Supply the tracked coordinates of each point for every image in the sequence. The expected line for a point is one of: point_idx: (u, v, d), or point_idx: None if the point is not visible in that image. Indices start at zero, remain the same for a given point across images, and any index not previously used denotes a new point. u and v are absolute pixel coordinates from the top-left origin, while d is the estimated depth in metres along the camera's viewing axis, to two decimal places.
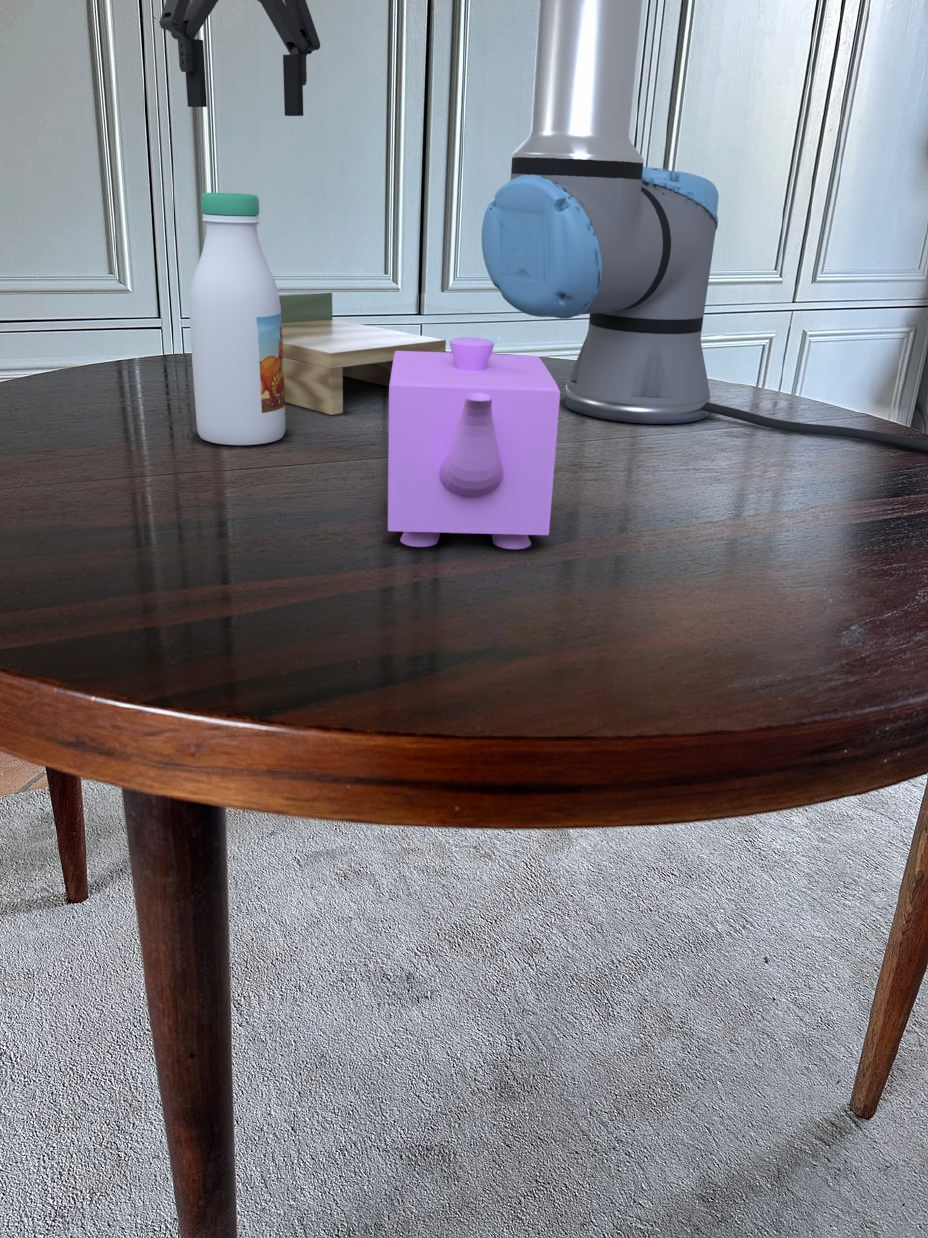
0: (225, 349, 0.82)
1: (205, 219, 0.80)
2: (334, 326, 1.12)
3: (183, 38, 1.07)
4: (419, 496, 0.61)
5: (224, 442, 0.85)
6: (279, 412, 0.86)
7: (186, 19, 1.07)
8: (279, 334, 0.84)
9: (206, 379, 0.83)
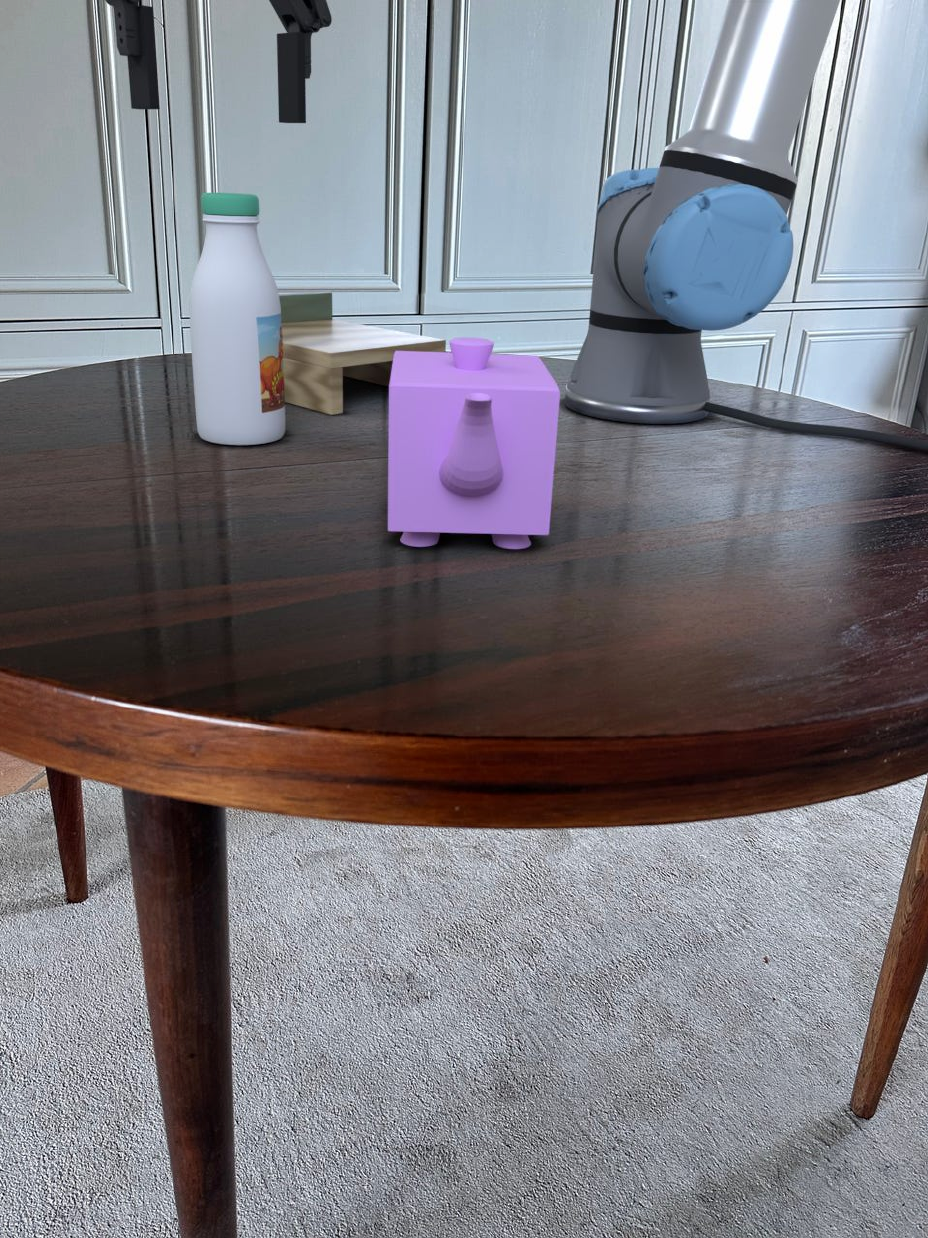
0: (225, 349, 0.82)
1: (205, 219, 0.80)
2: (334, 326, 1.12)
3: (121, 3, 0.70)
4: (419, 496, 0.61)
5: (224, 442, 0.85)
6: (279, 412, 0.86)
7: None
8: (279, 334, 0.84)
9: (206, 379, 0.83)
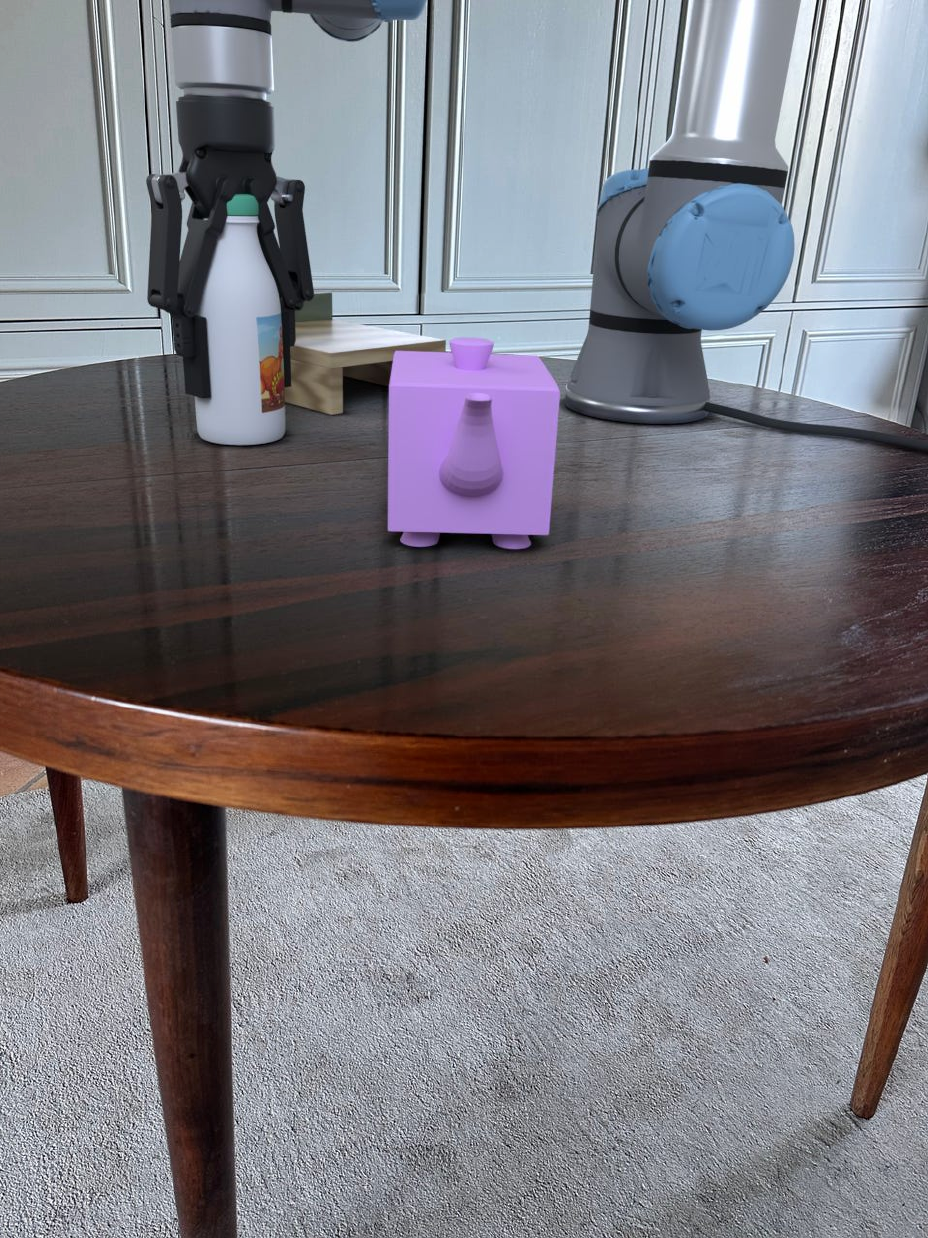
0: (225, 349, 0.82)
1: (205, 219, 0.80)
2: (334, 326, 1.12)
3: (179, 318, 0.80)
4: (419, 496, 0.61)
5: (224, 442, 0.85)
6: (279, 412, 0.86)
7: (179, 292, 0.80)
8: (279, 334, 0.84)
9: None
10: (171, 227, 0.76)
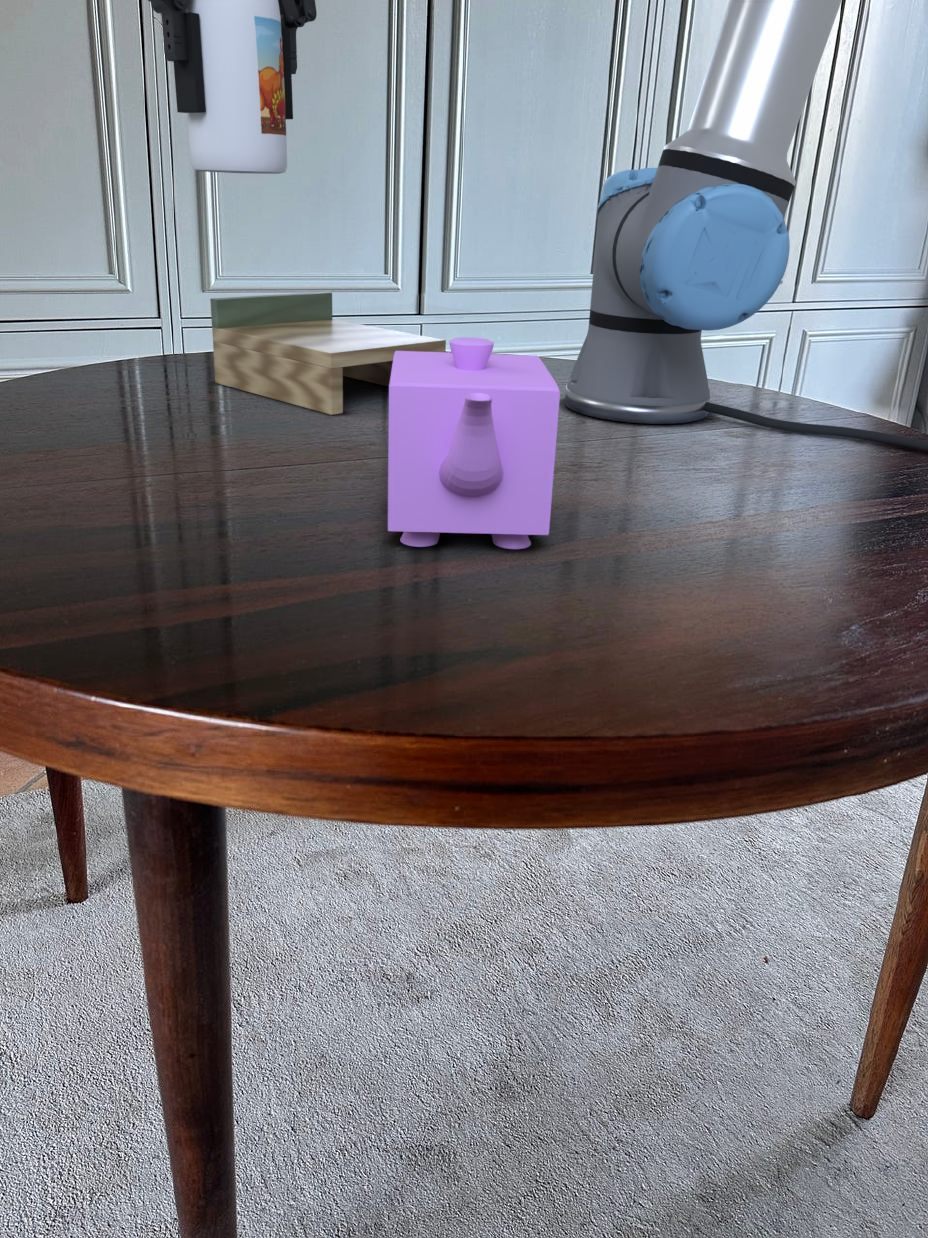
0: (221, 52, 0.74)
1: None
2: (334, 326, 1.12)
3: (169, 11, 0.72)
4: (419, 496, 0.61)
5: (221, 167, 0.77)
6: (280, 138, 0.79)
7: None
8: (279, 45, 0.77)
9: None
10: None
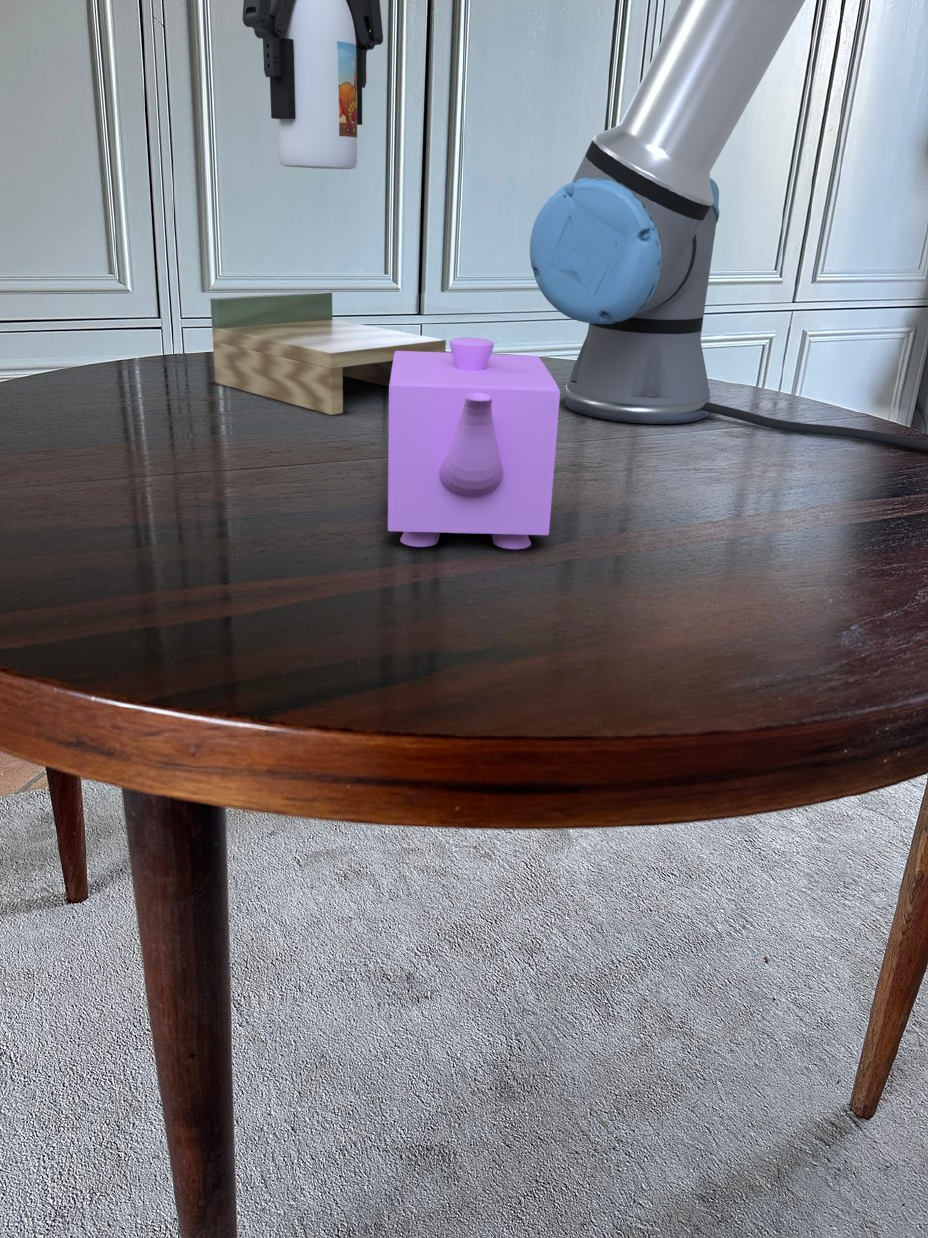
0: (309, 70, 0.91)
1: None
2: (334, 326, 1.12)
3: (270, 37, 0.90)
4: (419, 496, 0.61)
5: (305, 163, 0.95)
6: (353, 140, 0.96)
7: (270, 13, 0.90)
8: (355, 64, 0.94)
9: None
10: None
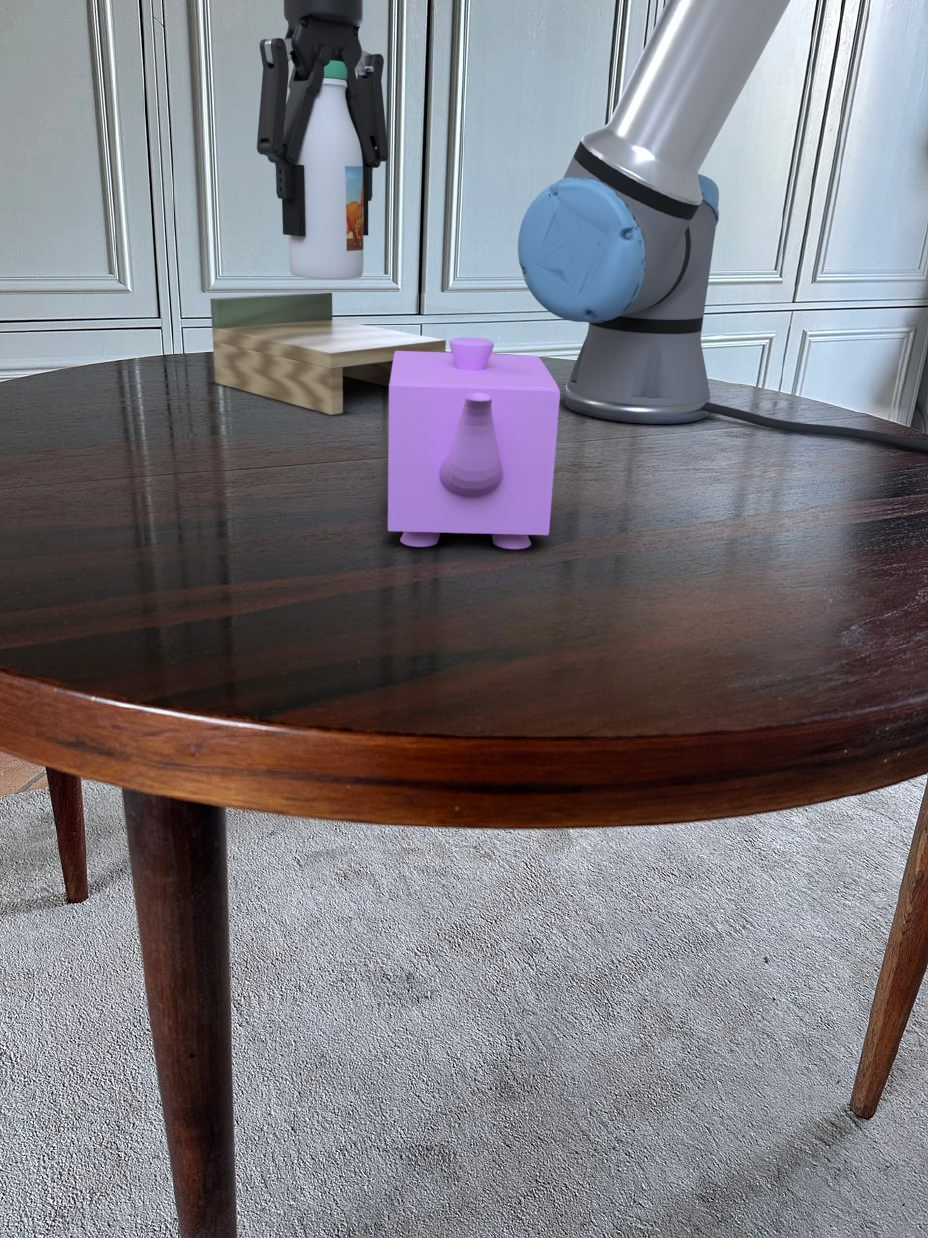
0: (319, 193, 0.98)
1: None
2: (334, 326, 1.12)
3: (282, 164, 0.96)
4: (419, 496, 0.61)
5: (314, 276, 1.01)
6: (360, 253, 1.02)
7: (283, 142, 0.96)
8: (361, 184, 1.00)
9: None
10: (280, 83, 0.92)
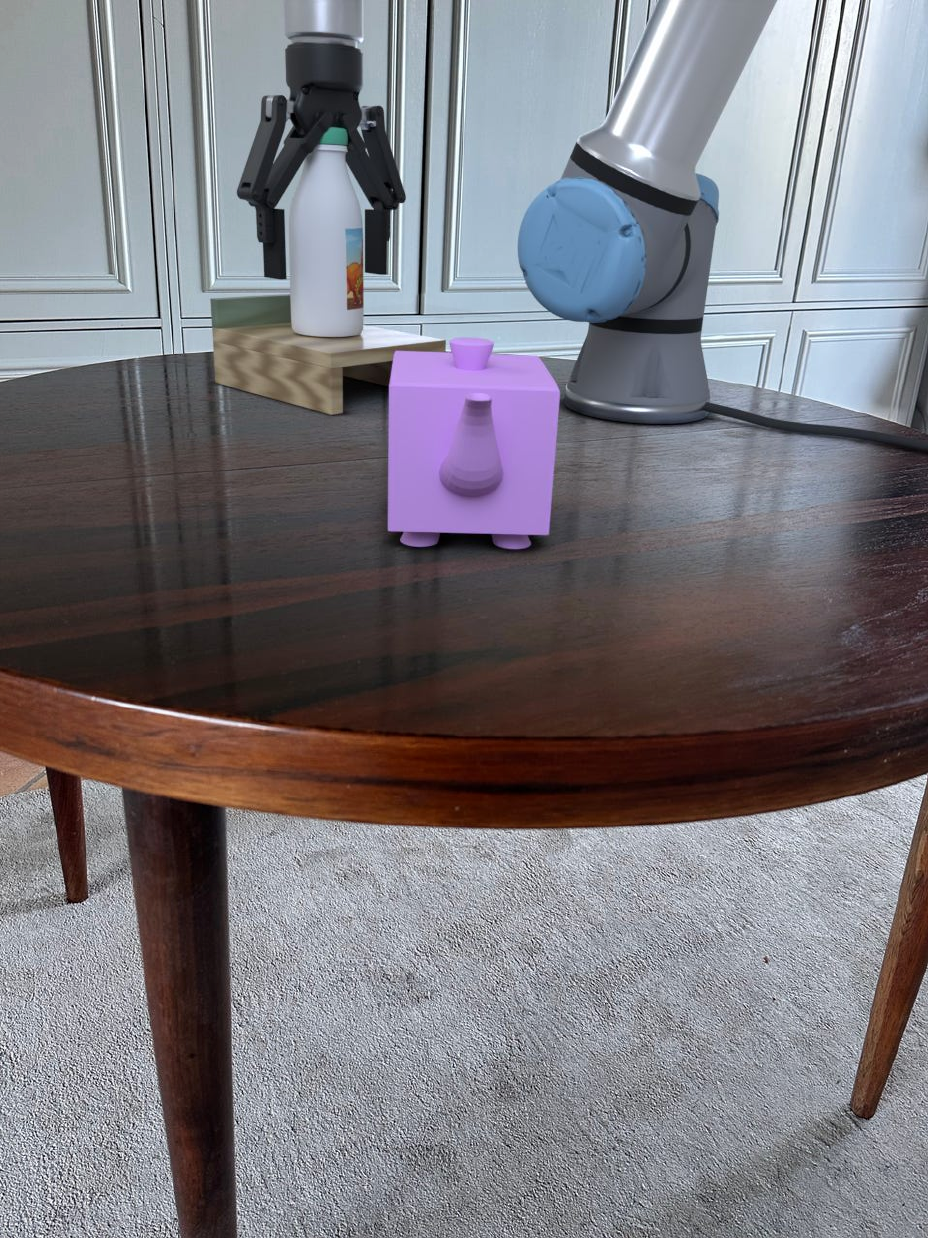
0: (320, 255, 1.00)
1: None
2: None
3: (262, 208, 0.96)
4: (419, 496, 0.61)
5: (316, 334, 1.03)
6: (360, 311, 1.05)
7: (266, 187, 0.96)
8: (361, 245, 1.03)
9: (302, 281, 1.02)
10: (273, 135, 0.93)
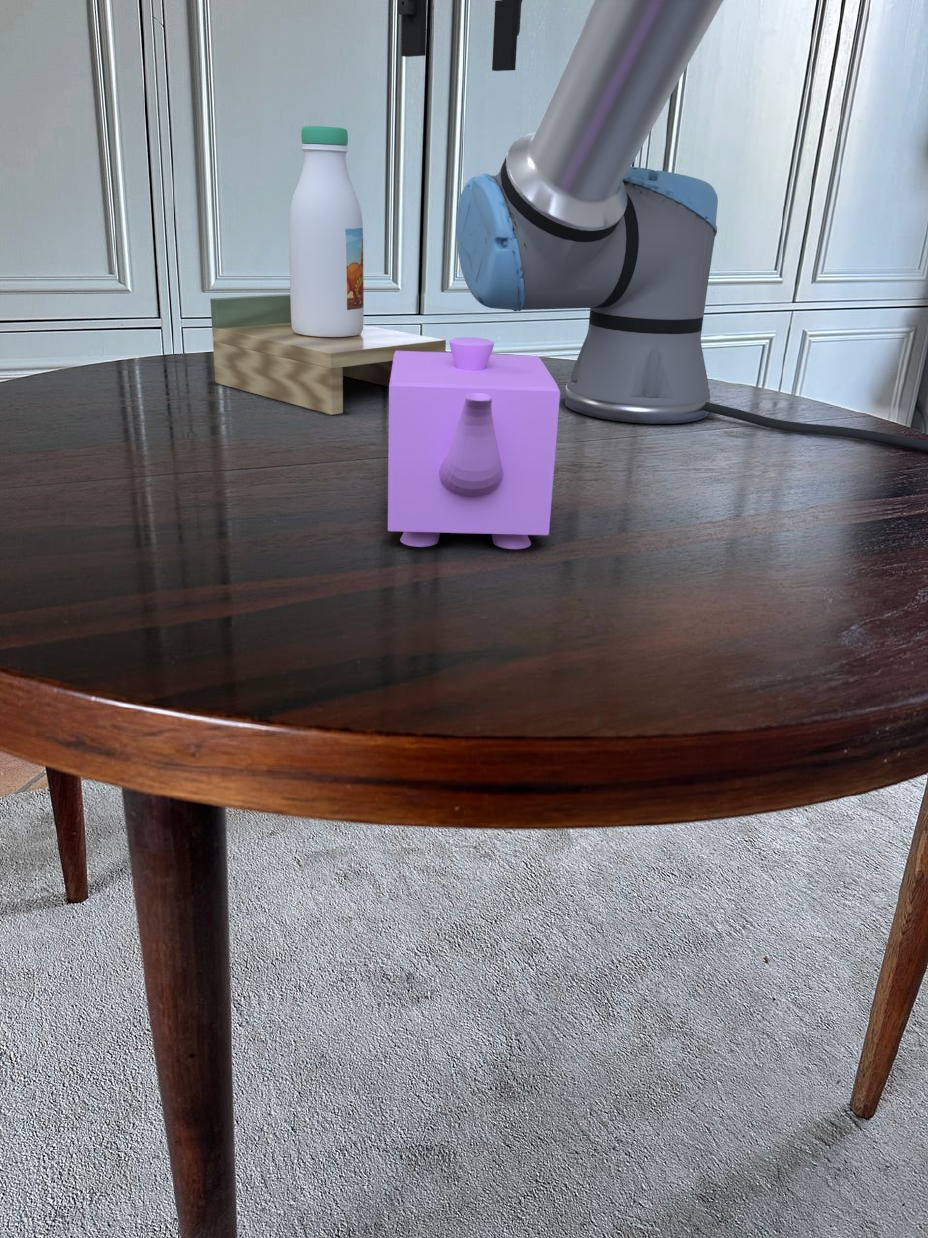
0: (320, 255, 1.00)
1: (305, 147, 0.98)
2: None
3: None
4: (419, 496, 0.61)
5: (316, 334, 1.03)
6: (360, 311, 1.05)
7: None
8: (361, 245, 1.03)
9: (302, 281, 1.02)
10: None
